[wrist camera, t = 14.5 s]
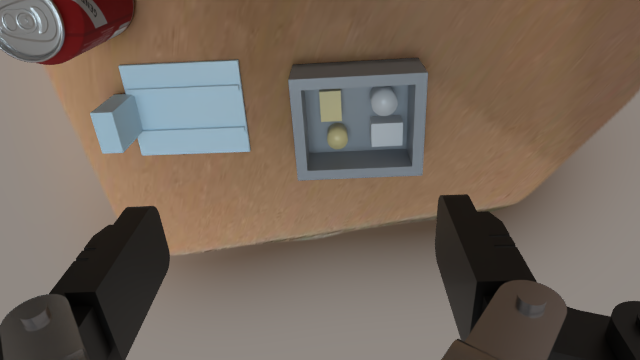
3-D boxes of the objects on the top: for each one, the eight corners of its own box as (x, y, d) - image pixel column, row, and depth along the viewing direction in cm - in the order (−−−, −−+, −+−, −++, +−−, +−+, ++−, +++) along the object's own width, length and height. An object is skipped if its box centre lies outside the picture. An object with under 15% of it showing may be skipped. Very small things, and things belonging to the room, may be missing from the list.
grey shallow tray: (292, 64, 44) (288, 79, 40) (418, 57, 44) (427, 72, 39) (301, 157, 49) (297, 180, 45) (414, 152, 48) (422, 175, 44)
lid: (109, 64, 45) (80, 82, 40) (239, 58, 44) (226, 76, 39) (133, 152, 50) (110, 179, 44) (251, 148, 49) (241, 175, 44)
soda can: (145, 33, 43) (85, 68, 33) (75, 38, 43) (-6, 74, 33) (125, -47, 40) (51, -37, 29) (50, -41, 40) (-49, -28, 30)
